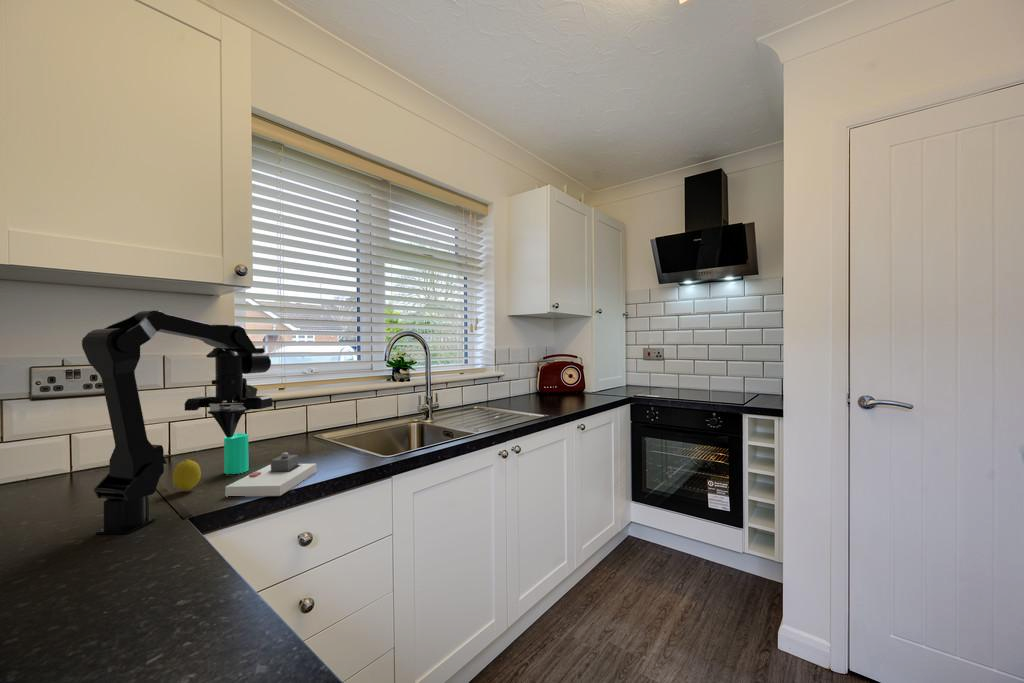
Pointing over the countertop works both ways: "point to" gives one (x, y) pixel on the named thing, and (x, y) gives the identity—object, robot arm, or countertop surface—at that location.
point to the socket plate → (270, 481)
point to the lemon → (186, 475)
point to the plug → (284, 463)
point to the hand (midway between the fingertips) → (229, 437)
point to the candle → (236, 454)
